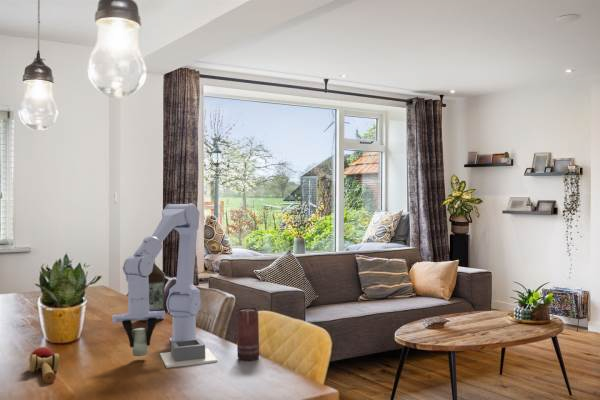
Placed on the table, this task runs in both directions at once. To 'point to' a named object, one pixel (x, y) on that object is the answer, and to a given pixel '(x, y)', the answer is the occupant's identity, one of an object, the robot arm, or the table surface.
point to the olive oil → (156, 290)
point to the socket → (187, 353)
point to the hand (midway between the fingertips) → (139, 345)
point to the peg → (139, 341)
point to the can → (247, 334)
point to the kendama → (44, 363)
